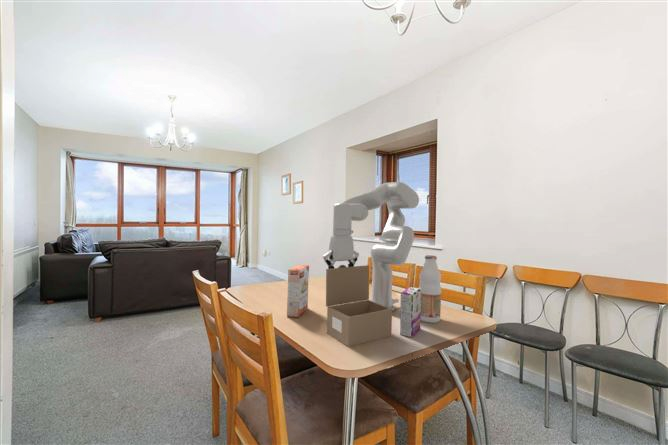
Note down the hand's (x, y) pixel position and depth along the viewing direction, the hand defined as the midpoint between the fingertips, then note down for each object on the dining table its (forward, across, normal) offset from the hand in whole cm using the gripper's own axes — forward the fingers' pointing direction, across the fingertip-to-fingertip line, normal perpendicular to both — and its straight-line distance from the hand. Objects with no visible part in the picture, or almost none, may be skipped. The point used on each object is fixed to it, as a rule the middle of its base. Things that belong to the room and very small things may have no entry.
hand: (341, 274), depth 125 cm
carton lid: (+3, 0, +6) cm, 6 cm away
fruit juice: (+21, -37, +15) cm, 45 cm away
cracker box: (+21, +9, -21) cm, 31 cm away
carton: (+20, 0, +13) cm, 24 cm away
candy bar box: (+21, -19, +21) cm, 35 cm away
